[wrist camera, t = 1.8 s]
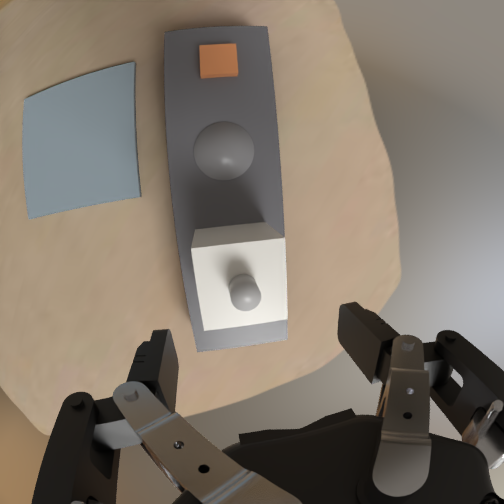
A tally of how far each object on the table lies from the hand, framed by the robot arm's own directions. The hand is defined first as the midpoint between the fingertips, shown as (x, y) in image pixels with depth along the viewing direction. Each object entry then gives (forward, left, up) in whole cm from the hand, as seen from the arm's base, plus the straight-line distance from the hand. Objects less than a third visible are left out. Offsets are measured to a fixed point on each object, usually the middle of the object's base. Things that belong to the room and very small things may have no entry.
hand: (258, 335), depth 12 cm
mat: (-13, -15, -16) cm, 25 cm away
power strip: (-6, 0, -16) cm, 17 cm away
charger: (0, 0, -14) cm, 14 cm away
